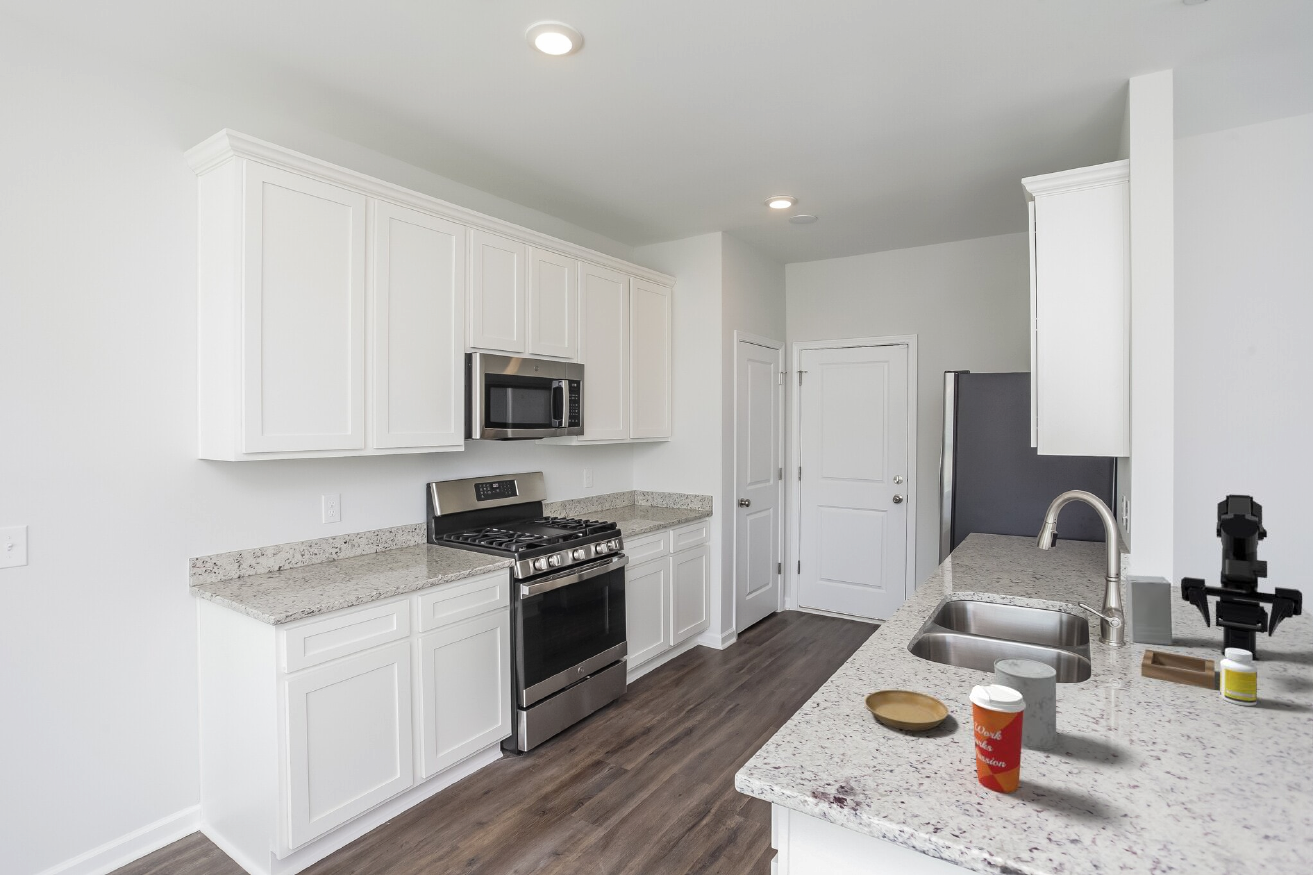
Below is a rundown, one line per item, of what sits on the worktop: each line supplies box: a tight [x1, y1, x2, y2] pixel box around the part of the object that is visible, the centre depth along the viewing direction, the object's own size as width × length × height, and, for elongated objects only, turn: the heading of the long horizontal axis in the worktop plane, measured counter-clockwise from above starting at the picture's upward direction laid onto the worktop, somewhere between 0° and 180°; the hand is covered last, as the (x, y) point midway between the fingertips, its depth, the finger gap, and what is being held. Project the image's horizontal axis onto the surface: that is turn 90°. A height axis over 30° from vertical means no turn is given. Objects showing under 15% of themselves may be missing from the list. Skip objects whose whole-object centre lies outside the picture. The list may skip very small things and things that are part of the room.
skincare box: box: [1125, 574, 1173, 646], centre depth 163 cm, size 8×7×16 cm
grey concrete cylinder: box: [993, 657, 1058, 751], centre depth 115 cm, size 10×10×12 cm
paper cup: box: [969, 683, 1026, 794], centre depth 101 cm, size 8×8×14 cm
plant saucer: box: [864, 689, 950, 732], centre depth 124 cm, size 15×15×3 cm
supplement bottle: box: [1219, 648, 1258, 707], centre depth 128 cm, size 5×5×10 cm
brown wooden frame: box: [1140, 648, 1216, 691], centre depth 142 cm, size 12×12×2 cm
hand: (1238, 630), depth 132 cm, fingers open, 9 cm apart
